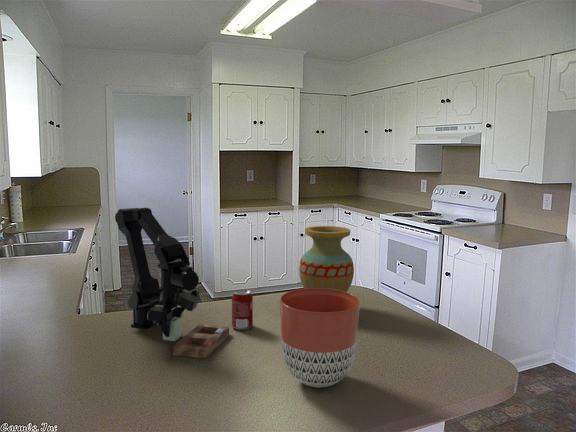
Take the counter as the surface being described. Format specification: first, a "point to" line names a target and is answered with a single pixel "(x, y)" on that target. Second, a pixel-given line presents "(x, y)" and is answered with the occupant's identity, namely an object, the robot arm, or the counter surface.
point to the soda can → (242, 309)
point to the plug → (174, 330)
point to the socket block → (201, 341)
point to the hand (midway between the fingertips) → (171, 333)
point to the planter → (319, 334)
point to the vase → (326, 260)
